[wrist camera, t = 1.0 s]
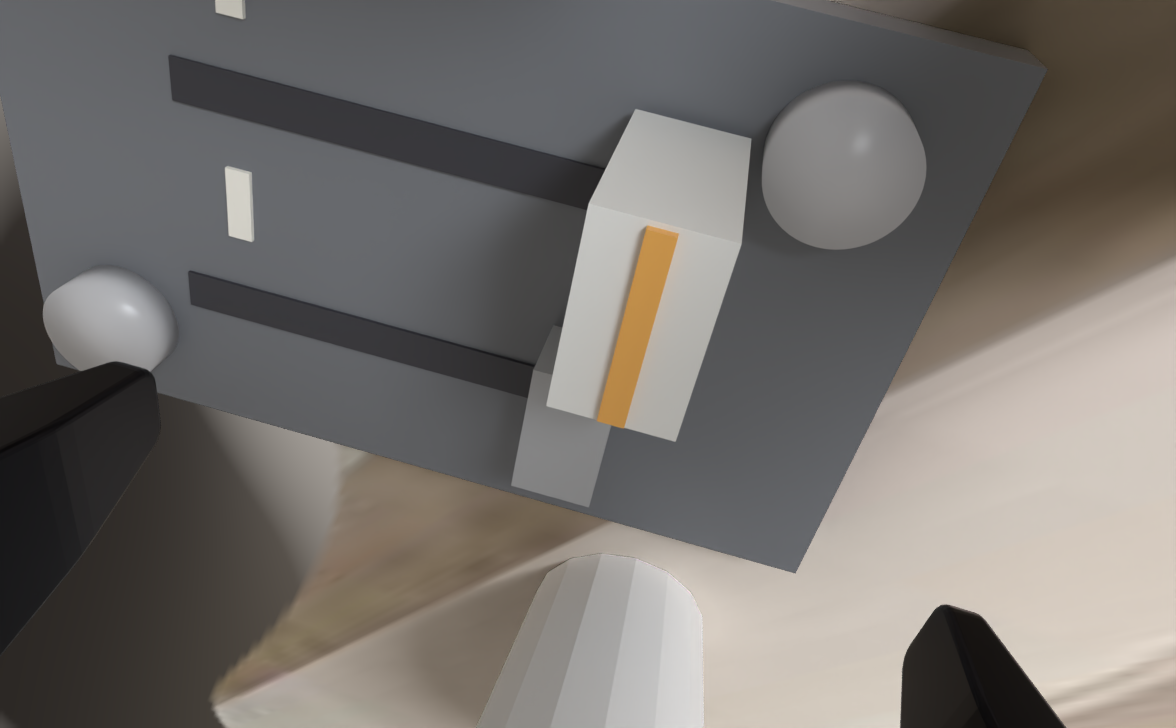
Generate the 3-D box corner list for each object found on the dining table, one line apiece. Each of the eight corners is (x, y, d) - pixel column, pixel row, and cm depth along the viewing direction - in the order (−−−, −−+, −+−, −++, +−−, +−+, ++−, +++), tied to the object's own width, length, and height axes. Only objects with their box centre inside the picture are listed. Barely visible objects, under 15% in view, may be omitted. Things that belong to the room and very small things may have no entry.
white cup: (534, 514, 26) (464, 711, 20) (748, 575, 26) (739, 792, 20) (505, 649, 30) (439, 846, 24) (691, 703, 30) (670, 916, 24)
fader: (751, 138, 17) (741, 248, 13) (698, 306, 19) (674, 447, 15) (635, 109, 17) (586, 207, 13) (596, 279, 19) (543, 411, 15)
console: (1028, 50, 17) (1079, 100, 14) (794, 535, 25) (796, 630, 22) (-5, -207, 18) (-157, -211, 15) (91, 337, 26) (4, 403, 23)
